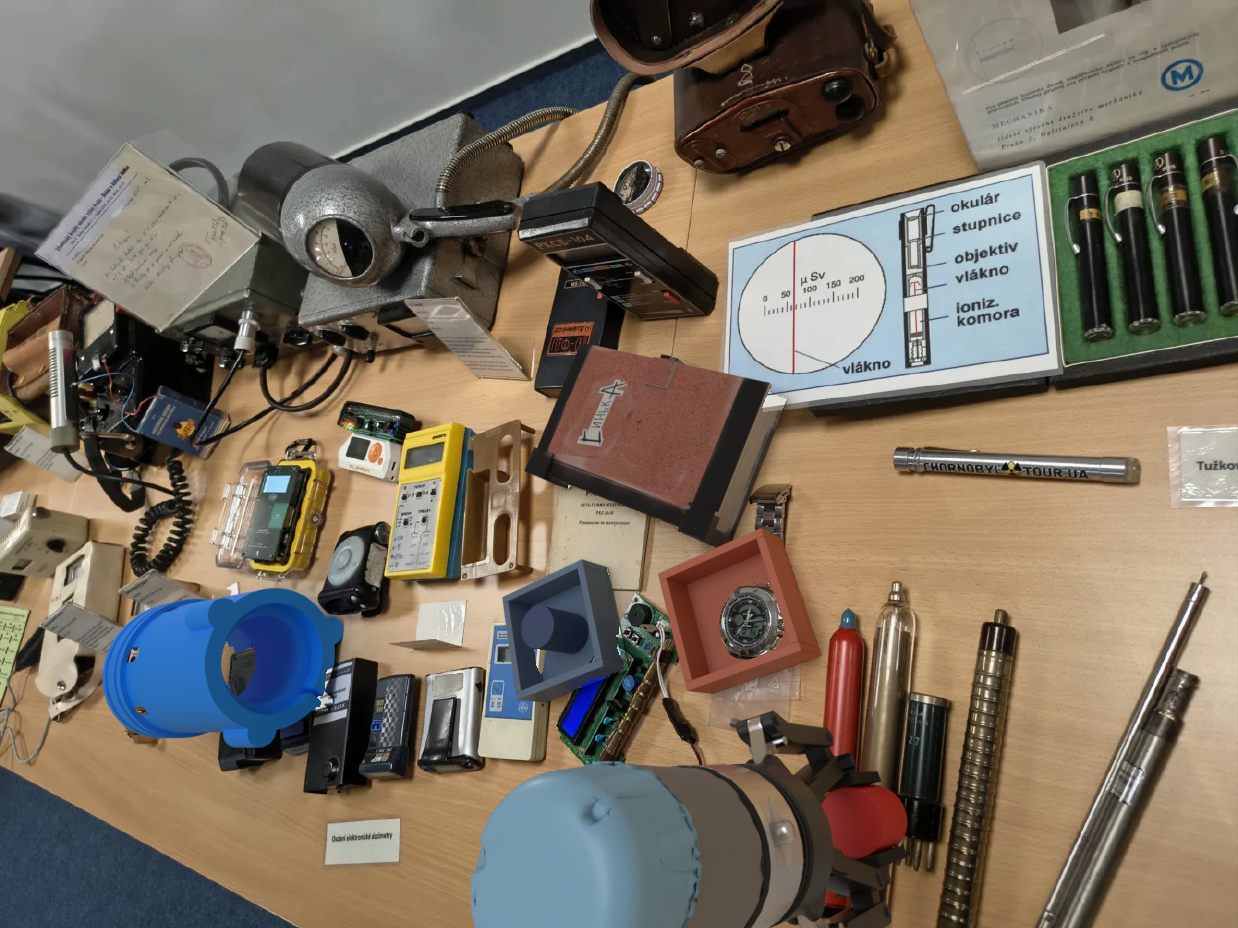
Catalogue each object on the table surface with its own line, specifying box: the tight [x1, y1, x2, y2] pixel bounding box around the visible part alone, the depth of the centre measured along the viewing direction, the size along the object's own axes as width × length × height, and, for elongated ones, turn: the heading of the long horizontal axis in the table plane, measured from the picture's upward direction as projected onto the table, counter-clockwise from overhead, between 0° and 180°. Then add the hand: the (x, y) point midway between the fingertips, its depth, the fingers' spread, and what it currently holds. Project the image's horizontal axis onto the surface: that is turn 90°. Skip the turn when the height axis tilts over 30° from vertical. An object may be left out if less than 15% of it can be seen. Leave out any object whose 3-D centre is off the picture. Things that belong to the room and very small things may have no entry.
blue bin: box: [501, 558, 624, 703], centre depth 82 cm, size 12×12×5 cm
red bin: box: [657, 527, 822, 695], centre depth 71 cm, size 12×12×5 cm
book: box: [523, 342, 784, 548], centre depth 83 cm, size 26×18×5 cm
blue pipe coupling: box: [101, 587, 344, 749], centre depth 105 cm, size 25×22×19 cm
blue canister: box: [521, 606, 588, 654], centre depth 81 cm, size 4×4×6 cm
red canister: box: [821, 783, 908, 859], centre depth 54 cm, size 4×4×6 cm
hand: (874, 817), depth 56 cm, fingers closed on red canister, 4 cm apart
